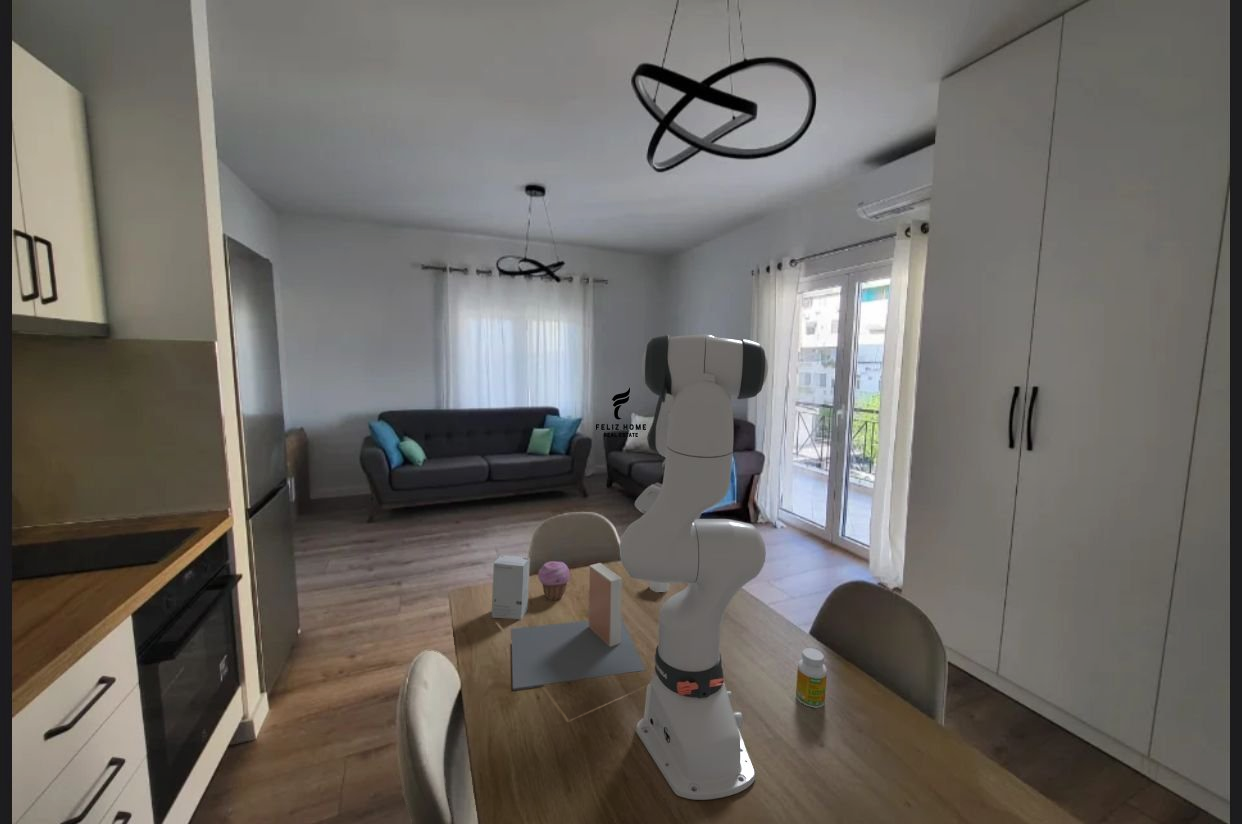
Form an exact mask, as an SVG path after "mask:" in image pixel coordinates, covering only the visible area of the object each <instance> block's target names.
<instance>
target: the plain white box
mask: <svg viewBox="0 0 1242 824" xmlns="http://www.w3.org/2000/svg"><path fill="white" fill-rule="evenodd" d="M588 584H589V590H588V591H589V592H588V593H589V595H588V596H589V597H588V600H589V601H588V602H589V605H588V621H589V627H590V628H591V629H592V630H593V631H594V632H595V633H596V634H597V635H598V636H599V637H600V638H601V639H602V640H603V641H605V642H606V643H607V644H608V645H609V646H610V647H611V646H614V645H617V644H619V643H621V617H622V612H623V611H622V610H623V609H622V608H623V606H622V605H623V602H622V601H623V577H622V576H620V575H618V574H617V573H615V572H614V571H612V570H611V569H610V568H608V567H607V566H605V565H604V564H603V563H602V562H598V563H594V564H590V565H589V583H588Z"/></svg>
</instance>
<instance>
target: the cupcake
mask: <svg viewBox="0 0 1242 824" xmlns="http://www.w3.org/2000/svg"><path fill="white" fill-rule="evenodd" d="M570 574H571V573H570V569H569V567H568V565H567V564H566V563H565V562H563V561H547V562H545V563H544V564H542V566H541V567H540V569H539V570H538V580H539V581H540V583H541V584H542V590H543V594H544V596H545V597H546V598H547V600H548V601H555V599H556V600H558V599H561V598H562V597H563V596H564V594H565V592H566V589H567V584H568V582H569V581H570V577H571V576H570Z"/></svg>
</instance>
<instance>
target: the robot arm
mask: <svg viewBox="0 0 1242 824" xmlns="http://www.w3.org/2000/svg"><path fill="white" fill-rule="evenodd" d="M765 351H766V350H765V349H764V347H762V346H761V345H760V343H758V342H755V341H753V340H749V339H744V338H743V339H741V340H737V339H734V338H733V339H732V338H727V337H717V336H714V335H712V334H706V333H705V334H704V333H699V334H695V335H676V336H670V335H669V334H668V335H667V334H666V335H660V336H655V337H653V338H651V339H650V341H648V343H647V345H646V348H645V350H644V352H643V355H642V357H641V358H642V359H641V366H640V367H641V372H642V377H643V379H644V382H645V385H646V387H647V388H648V389H649V390H650V392H651V393H653V394H655V395H656V396H658V398H657V403H656V406H655V407H656V408H655V411H654V415H653V420H652V424H651V426H650V429H649V431H648V433H647V436H646V440H647V444H648V447H649V450H650V451H651V452H653V453H656V454H657V455H659V456H662V457H664V458H665V461H664V465H665V466H664V473H663V479H662V483H660V482H655V483H652V484H651V485H649V486H647V488H645V489H644V490H643V491H642V492H641V494H640V495H638V497H637V498H636V500H635V501H634V507H635V508H636V509H637V510H638V511H639V512H641V513H642V514H643V515H641V517H639V518H638V519H636V520H635V521H633V522H632V523H630V524H629V525H628V526H627V528H626V529H625V531H624V532H623V534H622V536H621V539H620V542H619V557H620V562H621V564H622V567H623V569H624V570H625V571H626V573H627V574H628V575H629V577H630V578H632V579H636V580H640V581H645V582H649V583H650V582H655V583H670V584H688V585H687V586H686V587H685V588H684V589H682V590H680V591H679V592H677V593H674V594H673V595H672V596H670V597H669V598H668V599H667V600H666V601H665V602H664V603H663V605H662V607H661V609H660V611H659V614H658V638H657V639H658V640H657V641H658V642H657V643H658V644H657V645H656V648H655V653H654V654H655V655H654V669H655V670H654V674H653V677H652V678H651V680H650V681H649V682H648V684H647V686H646V694H645V703H644V714H643V717H642V718H641V719H640V720H639V721H638V722H637V724H636V728H635V732H636V734H637V735H638V737H639V739H640V740H641V742H642V744H643V745H644V747H645V748H646V750H647V751H648V753H649V754H650V756H651V758H652V760H653V761H654V763H655V764H656V766H657V768H658V769H659V771H660V772H661V774H662V776H663V777H664V778H665V780H666V782H667V783H668V785H669V786H670V788H671V789H672V791H673V792H674V794H675V795H676V796H678V797H681V798H683V799H688V800H694V801H695V800H697V801H698V800H699V801H700V800H702V801H706V800H715V799H716V800H717V799H720V798H725V797H729V796H733V795H735V794H739V793H740V792H742V791H745V790H746V789H748V788H749V787H750V786H751V785H753V783H754V781H756V773H755V769H754V766H753V764H752V761H751V758H750V754H749V752H748V750H747V748H746V744H745V741H744V739H743V736H742V734H741V731H740V729H739V728H743V727H744V718H743V715H742V712H740V711H734V710H733V707H732V704H731V701H730V700H732V699H733V695H732V692H731V690H727V686H726V684H725V681H724V680H725V679H724V677H725V676H724V667H723V664H724V663H723V660H722V655H721V651H720V648H721V647H720V645H721V637H722V636H721V633H722V627H723V620H724V616H725V614H726V611H727V609H728V607H729V605H730V603H731V602H732V600H733V598H734V597H735V595H737V593H738V592H739V591H740V590H741V589H742V588H743V587H744V586H745V585H747V584H748V583H750V581H752V580H754V579H756V578H757V577H758V575H759V574H760V573H761V571H762V570H763V568H764V565H765V561H766V555H767V553H766V552H767V551H766V550H767V549H766V545H765V541H764V539H763V536H762V535H761V534H760V532H759V530H758V528H756V527H755V526H754V525H753V524H752V523H747V522H743V521H739V520H735V519H727V518H701V516H702V514H703V513H704V512H706V511H707V510H709V509H712V508H714V507H715V506H717V505H719V504H721V502H722V501H723V500H724V499H725V497H726V496H727V495H728V492H729V491H730V486H731V477H732V476H731V474H732V473H731V472H732V463H733V452H734V451H733V450H734V434H735V433H734V411H733V403H732V399H735V398H736V399H737V400H746V399H751V398H755V397H756V396H758V395H759V394H760V393H761V392H762V389H763V386H764V384H765V383H766V380H767V377H768V372H769V370H768V369H769V367H768V366H769V365H768V360H767V356H766V352H765Z"/></svg>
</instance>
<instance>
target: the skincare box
mask: <svg viewBox="0 0 1242 824" xmlns="http://www.w3.org/2000/svg"><path fill="white" fill-rule="evenodd" d="M530 562H531V559H530V557H524V556H519V555H517V556H516V555H506V554H505V555H503V554H500V556H499V557H498V558H497V559H496V560H495V561H494V562H493V570H492V571H493V572H492V573H493V574H492V575H493V576H492V598H491V603H492V604H491V618H492V619H512V620H520V621H521V620H522V619H523V618H524V616H525V615H526V612H528V609H529V608H528V607H529V587H530V586H529V585H530V565H531V563H530Z"/></svg>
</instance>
